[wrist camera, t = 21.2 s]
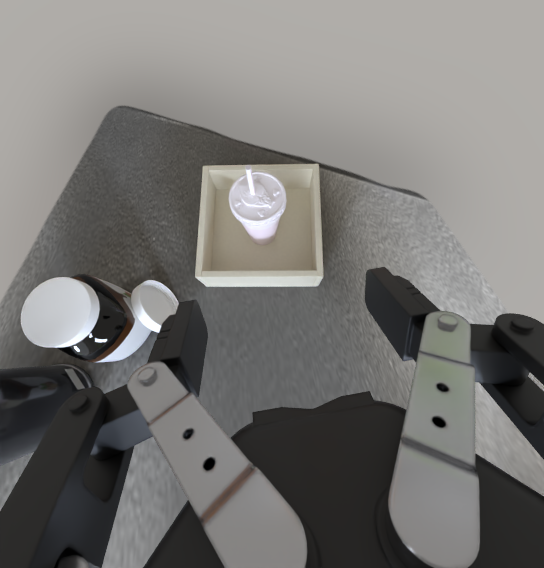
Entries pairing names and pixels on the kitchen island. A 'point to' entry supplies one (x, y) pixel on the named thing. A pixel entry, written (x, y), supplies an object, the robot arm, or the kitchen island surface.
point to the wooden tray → (238, 244)
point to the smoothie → (258, 204)
